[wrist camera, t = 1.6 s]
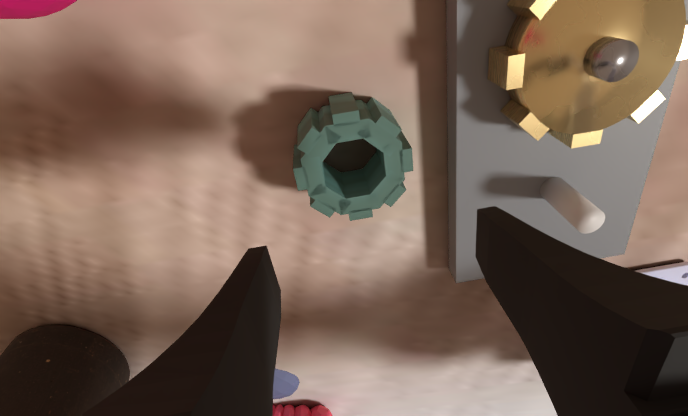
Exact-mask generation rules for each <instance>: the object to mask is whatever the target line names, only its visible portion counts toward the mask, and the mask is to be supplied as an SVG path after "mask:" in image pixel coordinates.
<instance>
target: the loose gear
mask: <svg viewBox="0 0 688 416" xmlns="http://www.w3.org/2000/svg"><path fill="white" fill-rule="evenodd" d="M328 97H329V103H330V105H327V106H322V108H321V109H320V110H319V112H317V111H315V110H314V109H312V108H310V109H309V111H308V112H307V114H306V115H305V117H304V118H303V119H302V121H301V122H300V124H299V125H298V137H297V144H296V145H294V158H293V171H294V175H295V180H296V184H297V188H298V191H300V190H306V189H307V190H308V195H309V197H310V207H312V208H314V209H316V210H317V211H319V212H321V213H323V214H325V215H326V216H328V217H331V216H332V214H333V213H334V212H337V213H339V214H340V215H344V214H349V218H350V221H352V220H358V219H363V218H369V217H373V215H372V209H378V208H380V207H381V206H382V205H383V204H384V203H385V204H387V205H389V206H390V207H391V206H392V205H393V204H394V203H395V202H396V201H397V200H398V198H399V197H400V196H401V195H402V194H403V193H404V192H405V191H406V188H405V186H404V184H403V181H404V180H405V177H404V172H409V171H413V159H412V148H411V146H410V144H409V143H408V141H407V139H406V138H405V136H404V135H403V133H402V131H401V130H402V129H401V128H400V126H399V125H398V123H397V121H396V120H395V118H394V116H393V115H392V113H391V112H390V110H389V109H387V108H386V107H385V106H383V105H382V104H381V103H379V102H378V101H377V100H375V99H374V98H373V97H371V99H370V100H369V101H368V103H367V104H366V103H364V102H363V101H362V100H356V101H355V99H354V97H353V94H352V92H350V93H345V94H339V95H333V96H328ZM358 139H364V140H366V141H367V142H369V143H370V144H372V145H373V146H375V147H376V153H375V154H374V155H373V157H372V158H371V159H370V160H369V161H368V163H367V164H366V165H365V166H364V168H363V169H358V170H352V171H346V172H339V171H338V170H336V169H335V168H333V167H332V166H330V165H328V164H327V163H325V162H324V161H323V160H324V159H325V158H326V156H327V155H328V154H329V152H330V151H331V150H332V148H333V147H334V146H335V144H336V143H340V142H346V141H352V140H358Z"/></svg>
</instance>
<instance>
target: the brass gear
mask: <svg viewBox="0 0 688 416" xmlns="http://www.w3.org/2000/svg"><path fill="white" fill-rule="evenodd" d="M507 6H508V7H509V8H510V9H511V10H512V11H513V12H514V13H515V14H516V15H518V16H517V17H516V19H515V21H514V23H513V25H512V27H511V29H510V31H509V34H508V37H507V39H506V43H505V46H498V47H493V48H489V60H488V80H490V81H491V82H493V83H495V84H497V85H498V86H500V87H502V88H503V89H505V90H507V92H508V95H509V97H510V98H511V99H510V101H509V102H508V103H507V104H506V105H505V106H504V107H503V108H502V109H501V110H500V111H501V112H502V113H503V114H504V115H505V116H506V117H508V118H509V119H510V120H511V121H512V122H513V123H515V124H516V125H517V126H518V127H519V128H521V129H522V130H524V131H525V132H526V133H528V134H529V135H530V136H532V137H533V138H535V139H536V140H537V141H538V140H539V139H540V138H541V137H542V136H543V135H544V134H545V133H546V132H547V131H548V130H549V134H550V135H552V136H553V137H555V138H556V139H558V140H559V141H561V142H562V143H564V144H565V145H567V146H568V147H570V148H577V147H583V146H588V145H594V144H600V142H601V137H602V132H603V129H604V128H607V127H609V126H612V125H614V124H616V123H618V122H619V121H621V120H623V119H625V118H627V119H630V120H632V121H634V122H636V123H638V124H639V123H640V122H641V121H642V120H643V119H644V118H645V117H646V116H647V115H648V114H650V113H651V112H652V111H653V110H654V109H655V108H656V107H657V106H658V105H659V104H660V103H662V102H663V101H664V100H665V98H664V97H663V95H662V94H661V93H660V92H659V91H658V90H657V89H658V88H659V87H660V86H661V84H662V83H663V81H664V80H665V79H666V77H667V76H668V74H669V72H670V70H671V69H672V67H673V65H674V63H675V61H677V60H683V59H688V20H686V9H685V3H684V0H510V1H509V2H508V4H507Z"/></svg>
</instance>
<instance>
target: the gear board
mask: <svg viewBox="0 0 688 416" xmlns="http://www.w3.org/2000/svg"><path fill="white" fill-rule="evenodd" d="M509 1H510V0H446V32H447V133H448V235H449V270H450V272H451V274H452V276H453V278H454V280H455V282H456V283H460V282H466V281H472V280H478V279H483V278H485V277H484V275H483V273H482V271H481V269H480V266H479V264H478V262H477V259H476V257H475V253H476V226H477V209H481V208H486V207H492V206H496V207H498V208H500V209H502V210H504V211H506V212H507V213H509V214H511V215H513V216H514V217H516V218H518V219H520V220H521V221H523V222H525V223H527V224H529V225H530V226H532V227H534V228H536V229H538V230H539V231H541V232H543V233H545V234H547V235H549V236H551V237H553V238H555V239H557V240H559V241H561V242H563V243H565V244H567V245H569V246H571V247H573V248H575V249H578V250H580V251H582V252H585V253H587V254H589V255H592V256H594V257H597V258H605V257H611V256H616V255H622V254H624V253H625V250H626V247H627V243H628V240H629V236H630V233H631V229H632V226H633V222H634V219H635V216H636V212H637V209H638V205H639V202H640V198H641V195H642V191H643V188H644V185H645V181H646V178H647V174H648V171H649V167H650V164H651V160H652V157H653V154H654V150H655V147H656V143H657V140H658V136H659V133H660V129H661V126H662V122H663V119H664V116H665V112H666V109H667V105H668V102H669V98H670V95H671V91H672V88H673V85H674V81H675V78H676V74H677V71H678V67H679V64H680V60H677V61H675V63H674V65H673V67H672V69H671V70H670V72H669V74H668V76H667V77H666V79H665V80H664V81H663V83H662V84H661V86H660V87H659V88H658V89H657V90H658V91H659V92H660V93H661V94H662V95H663V97H664V98H665V100H664V101H663V102H662V103H660V104H659V105H658V106H657V107H656V108H655V109H654V110H653V111H652V112H651V113H650V114H648V115H647V116H646V117H645V118H644V119H643V120H642V121H641V122H640V123H639V124H638V123H636V122H634V121H632V120H630V119H627V118H625V119H623V120H621V121H619V122H618V123H616V124H614V125H612V126H609V127H607V128H604V129H603V132H602V137H601V142H600V144H594V145H588V146H583V147H577V148H570V147H568V146H567V145H565V144H564V143H562V142H561V141H559V140H558V139H556V138H555V137H553V136H552V135H550V134H549V130H548V131H547V132H546V133H545V134H544V135H543V136H542V137H541V138H540V139H539V140H538V141H537V140H536V139H535V138H533V137H532V136H530V135H529V134H528V133H526V132H525V131H524V130H522V129H521V128H519V127H518V126H517V125H516V124H515V123H513V122H512V121H511V120H510V119H509V118H508V117H506V116H505V115H504V114H503V113H502V112H501V111H500V110H501V109H502V108H503V107H504V106H505V105H506V104H507V103H508V102H509V101H510V99H511V98H510V97H509V95H508V92H507V90H505V89H503V88H502V87H500V86H498V85H497V84H495V83H493V82H491V81H490V80H488V60H489V48H493V47H498V46H505V43H506V39H507V37H508V34H509V31H510V29H511V27H512V25H513V23H514V21H515V19H516V17H517V16H518V15H516V14H515V13H514V12H513V11H512V10H511V9H510V8H509V7H508V6H507V4H508V2H509ZM684 3H685V9H686V20H688V0H684Z"/></svg>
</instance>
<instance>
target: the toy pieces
mask: <svg viewBox="0 0 688 416" xmlns="http://www.w3.org/2000/svg"><path fill="white" fill-rule="evenodd" d="M298 385H299V380H298V377H297V376H295V375H293V374H291V373H289V372H287V371H282V370H278V369H275V372H274V383H273V399H280V398H284V397H287V396H290V395H292V394H293V393H294V392H295V391H296V389H297V388H298ZM273 416H332V414H331V412H330V410H329V409H327V408H326V407H324V406H322V405H317V406H315V407H313V408H311V409H309V407H307V406H306V405H300V406H298V407H295V408H294V406H292V405H290V404H288V405H286V406H284V407H283V406H282V405H281V404H278V405H277V406H275V405H273Z"/></svg>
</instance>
